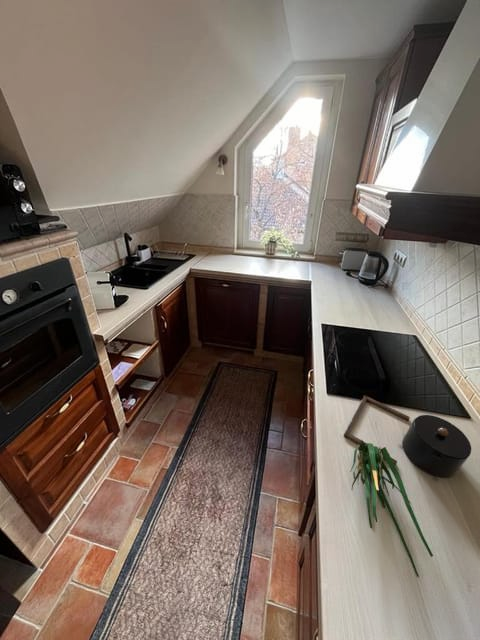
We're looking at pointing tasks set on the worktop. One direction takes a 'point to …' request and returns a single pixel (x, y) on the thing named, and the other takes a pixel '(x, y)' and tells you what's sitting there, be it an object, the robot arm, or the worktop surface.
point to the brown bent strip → (365, 398)
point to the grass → (373, 473)
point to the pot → (436, 446)
